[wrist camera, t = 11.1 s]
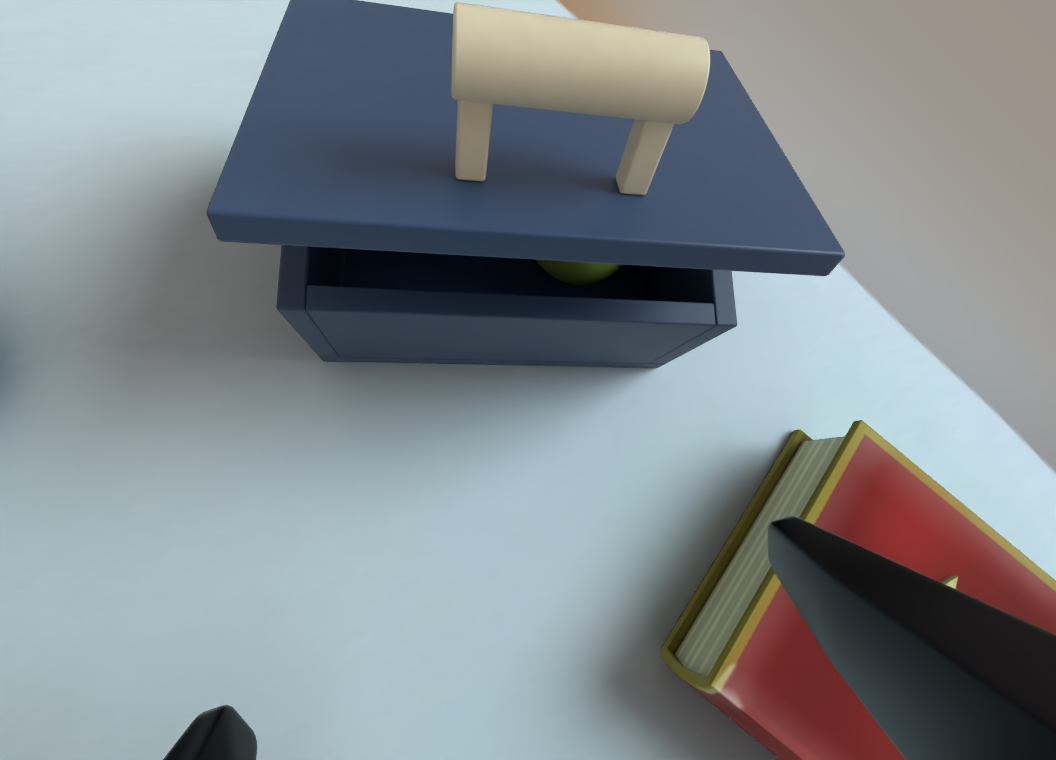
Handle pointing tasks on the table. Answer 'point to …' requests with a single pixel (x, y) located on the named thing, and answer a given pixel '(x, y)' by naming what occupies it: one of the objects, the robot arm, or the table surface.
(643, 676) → the table surface
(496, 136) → the lunchbox lid
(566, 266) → the apple
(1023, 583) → the hardcover book
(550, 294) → the box
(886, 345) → the table surface
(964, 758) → the robot arm
